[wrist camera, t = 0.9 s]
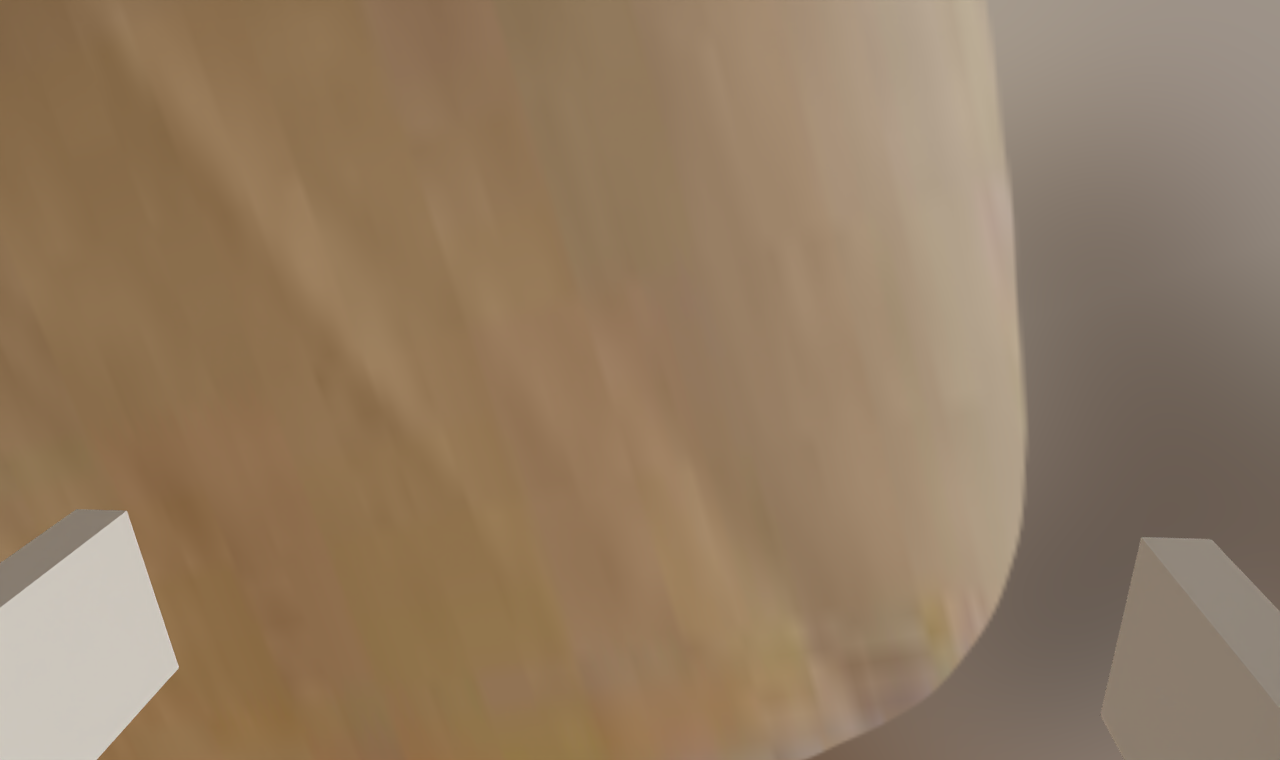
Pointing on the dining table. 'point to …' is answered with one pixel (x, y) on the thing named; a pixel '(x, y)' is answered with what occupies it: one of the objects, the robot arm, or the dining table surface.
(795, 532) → the dining table surface
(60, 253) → the dining table surface
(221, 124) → the dining table surface
